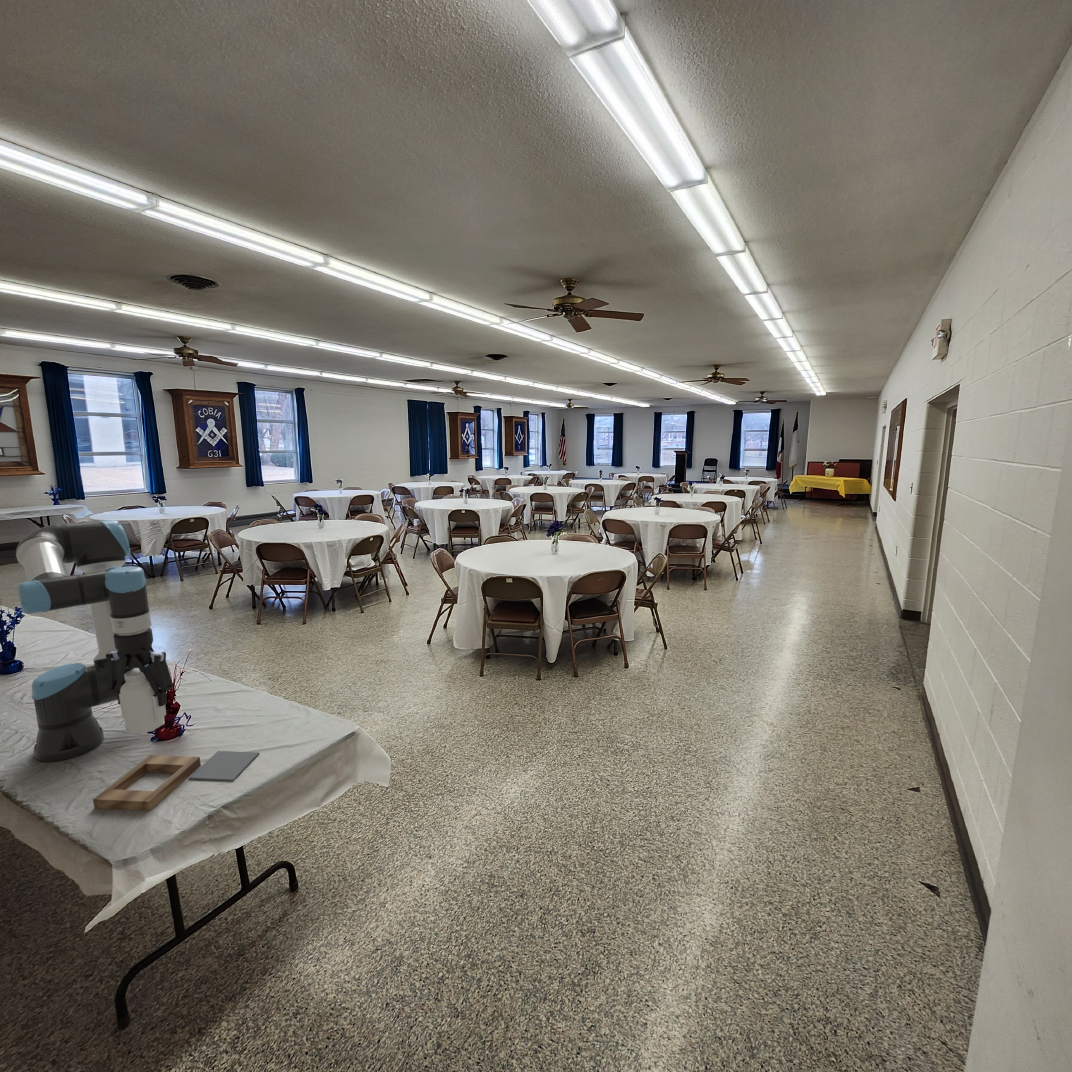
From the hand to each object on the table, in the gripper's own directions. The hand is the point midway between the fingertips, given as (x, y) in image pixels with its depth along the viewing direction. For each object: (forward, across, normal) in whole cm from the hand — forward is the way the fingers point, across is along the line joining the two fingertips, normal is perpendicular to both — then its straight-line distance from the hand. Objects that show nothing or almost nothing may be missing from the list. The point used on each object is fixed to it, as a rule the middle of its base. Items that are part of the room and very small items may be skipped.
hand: (144, 716), depth 133 cm
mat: (+19, +13, +9) cm, 25 cm away
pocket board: (+19, -1, 0) cm, 19 cm away
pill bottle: (+3, 0, 0) cm, 3 cm away
